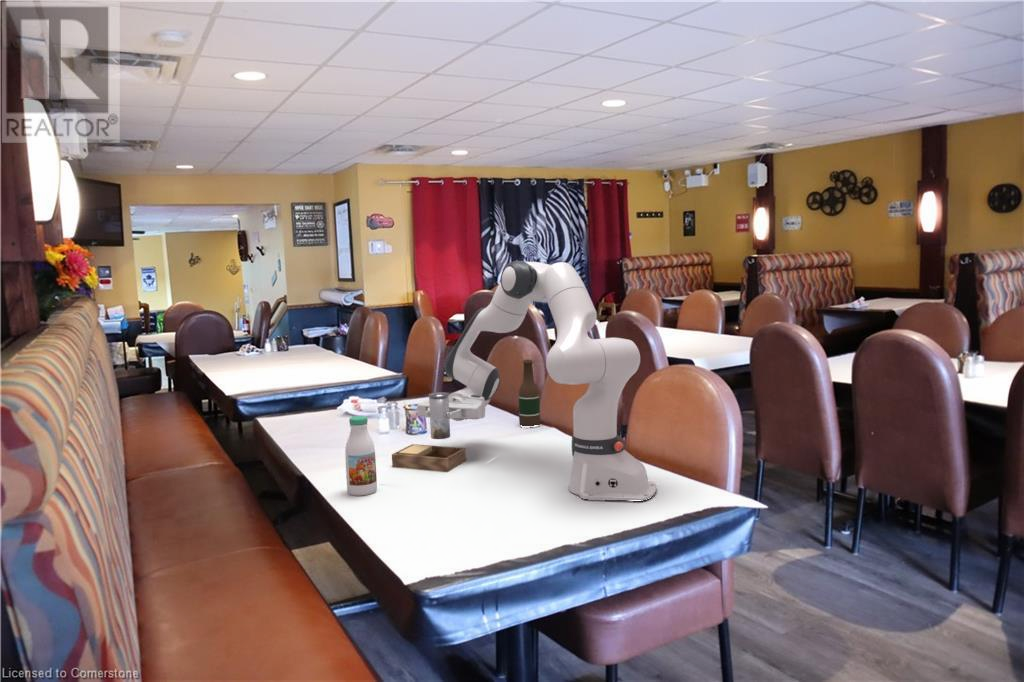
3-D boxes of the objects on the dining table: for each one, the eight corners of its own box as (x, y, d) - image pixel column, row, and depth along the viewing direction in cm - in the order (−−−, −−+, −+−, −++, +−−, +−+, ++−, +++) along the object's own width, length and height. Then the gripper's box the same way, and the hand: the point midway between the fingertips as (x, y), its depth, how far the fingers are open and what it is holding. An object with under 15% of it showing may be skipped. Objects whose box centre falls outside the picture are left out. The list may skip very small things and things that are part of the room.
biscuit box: (432, 459, 215) (431, 446, 214) (417, 467, 206) (416, 453, 206) (414, 457, 217) (414, 444, 217) (399, 465, 209) (398, 452, 208)
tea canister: (453, 434, 209) (452, 392, 208) (444, 439, 204) (443, 396, 202) (436, 433, 211) (434, 391, 210) (426, 438, 206) (424, 395, 205)
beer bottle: (516, 428, 255) (514, 361, 252) (522, 423, 262) (520, 358, 259) (537, 428, 252) (535, 361, 250) (542, 423, 260) (541, 358, 257)
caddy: (466, 463, 212) (465, 448, 212) (447, 474, 201) (447, 459, 201) (413, 458, 219) (412, 444, 218) (392, 469, 208) (391, 454, 207)
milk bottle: (341, 494, 187) (336, 419, 185) (360, 485, 194) (356, 413, 191) (364, 498, 183) (360, 421, 181) (383, 489, 190) (379, 415, 188)
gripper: (429, 394, 222) (406, 402, 210) (489, 397, 215) (469, 406, 202) (429, 413, 223) (407, 423, 210) (489, 417, 215) (470, 428, 203)
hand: (438, 415), depth 206 cm, fingers closed on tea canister, 6 cm apart
